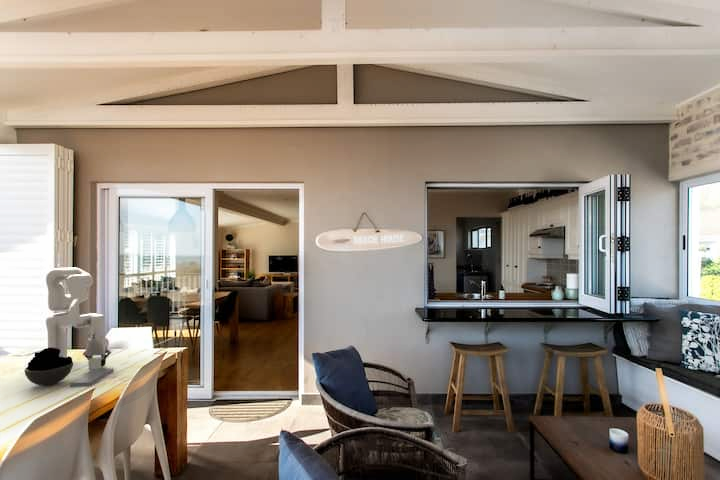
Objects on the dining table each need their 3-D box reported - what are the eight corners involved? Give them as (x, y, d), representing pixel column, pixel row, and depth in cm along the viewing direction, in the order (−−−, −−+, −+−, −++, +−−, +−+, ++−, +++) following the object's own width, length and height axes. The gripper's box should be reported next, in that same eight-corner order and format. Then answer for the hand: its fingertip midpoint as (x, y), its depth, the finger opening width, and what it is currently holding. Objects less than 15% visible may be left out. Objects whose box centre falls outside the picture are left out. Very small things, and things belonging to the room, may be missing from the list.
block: (88, 369, 226) (88, 359, 227) (94, 366, 232) (94, 356, 233) (99, 369, 227) (99, 358, 227) (105, 365, 233) (105, 355, 233)
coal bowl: (67, 375, 217) (67, 342, 218) (78, 383, 205) (78, 347, 205) (20, 385, 202) (20, 349, 202) (29, 394, 189) (29, 356, 190)
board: (69, 387, 199) (69, 383, 199) (94, 372, 223) (94, 368, 223) (90, 385, 201) (90, 382, 201) (113, 371, 224) (113, 367, 224)
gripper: (78, 337, 225) (77, 368, 225) (109, 336, 228) (109, 367, 227) (85, 334, 233) (84, 364, 232) (116, 333, 235) (115, 363, 235)
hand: (97, 365), depth 230 cm, fingers closed on block, 6 cm apart
